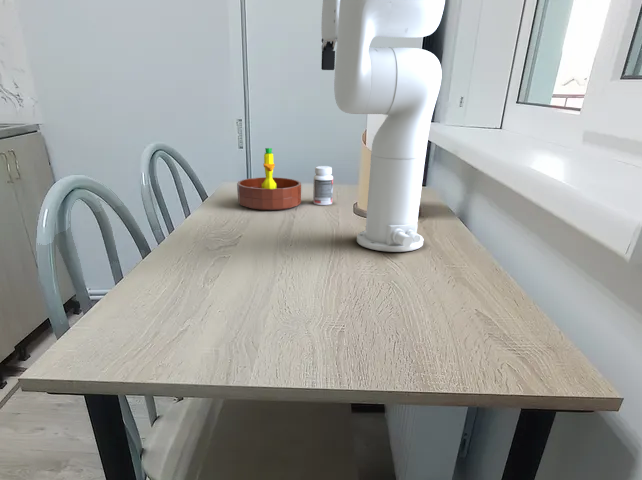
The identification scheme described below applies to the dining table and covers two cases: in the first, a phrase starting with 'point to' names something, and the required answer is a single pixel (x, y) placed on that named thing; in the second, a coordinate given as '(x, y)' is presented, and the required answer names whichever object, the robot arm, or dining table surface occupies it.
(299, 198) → the bowl
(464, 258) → the dining table surface
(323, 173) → the pill bottle
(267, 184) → the toy figure
